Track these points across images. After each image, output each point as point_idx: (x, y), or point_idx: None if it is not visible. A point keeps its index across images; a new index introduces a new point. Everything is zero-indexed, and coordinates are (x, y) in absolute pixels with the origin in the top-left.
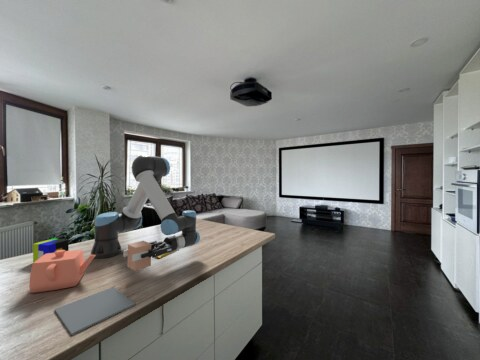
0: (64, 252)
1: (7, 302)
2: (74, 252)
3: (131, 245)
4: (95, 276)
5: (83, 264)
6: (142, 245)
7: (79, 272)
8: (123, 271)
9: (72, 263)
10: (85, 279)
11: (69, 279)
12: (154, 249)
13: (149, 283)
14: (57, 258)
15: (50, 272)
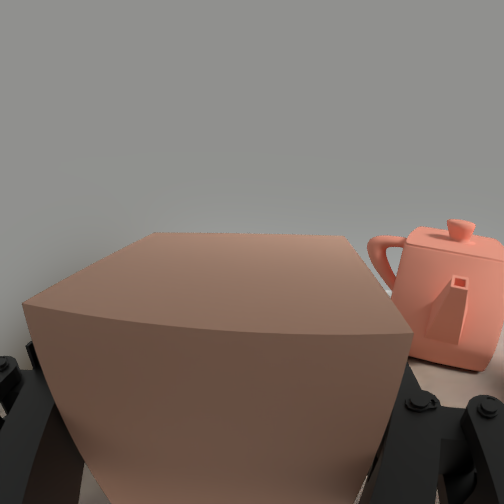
0: (459, 229)
1: (390, 291)
2: (485, 252)
3: (263, 235)
4: (447, 399)
5: (435, 300)
6: (130, 255)
7: (418, 321)
8: (435, 499)
9: (400, 259)
10: (435, 376)
11: None
12: (11, 425)
13: (99, 496)
14: (435, 236)
15: (367, 248)
